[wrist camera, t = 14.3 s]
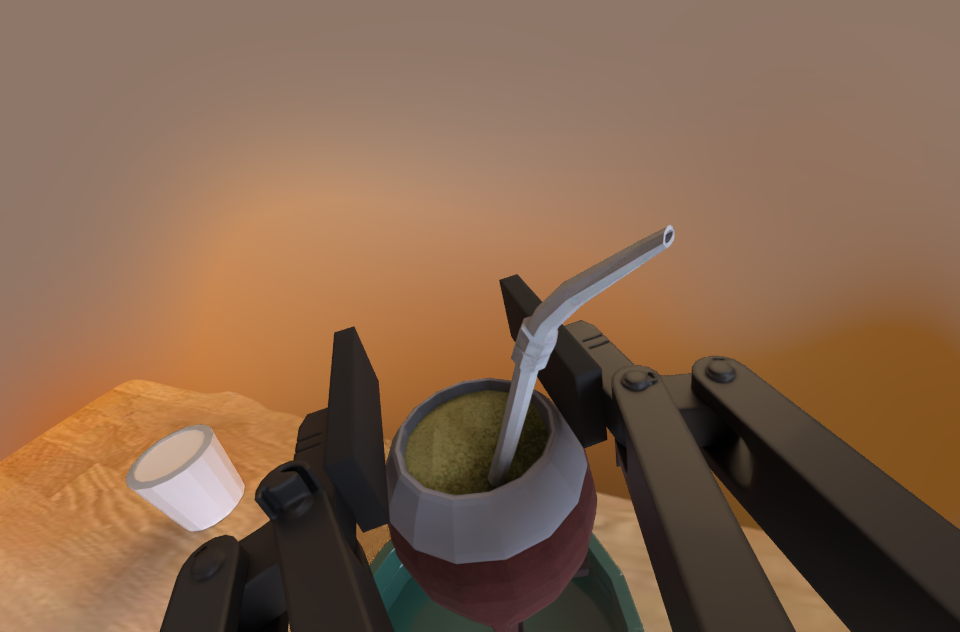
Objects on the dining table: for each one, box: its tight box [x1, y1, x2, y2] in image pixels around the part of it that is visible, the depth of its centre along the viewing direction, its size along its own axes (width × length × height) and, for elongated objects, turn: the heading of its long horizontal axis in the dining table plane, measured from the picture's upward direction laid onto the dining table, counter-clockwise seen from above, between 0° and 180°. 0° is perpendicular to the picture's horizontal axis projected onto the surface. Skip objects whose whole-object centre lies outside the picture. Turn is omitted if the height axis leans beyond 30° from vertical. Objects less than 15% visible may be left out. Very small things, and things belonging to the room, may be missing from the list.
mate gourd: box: [386, 225, 674, 632], centre depth 13 cm, size 8×8×15 cm
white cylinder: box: [126, 424, 245, 532], centre depth 37 cm, size 7×7×7 cm
